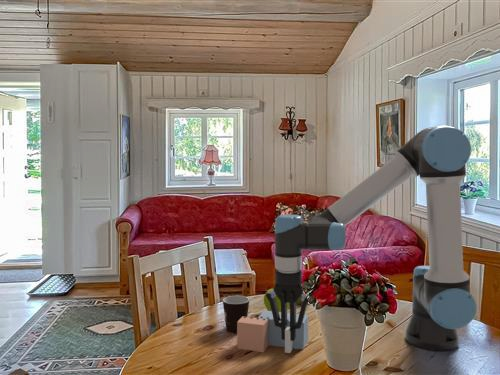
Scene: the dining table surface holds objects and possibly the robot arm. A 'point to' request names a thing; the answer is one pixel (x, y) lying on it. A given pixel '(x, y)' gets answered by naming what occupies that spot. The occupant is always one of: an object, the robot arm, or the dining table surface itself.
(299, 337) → the pad
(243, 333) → the block
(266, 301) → the fruit
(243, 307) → the coffee mug
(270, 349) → the dining table surface
